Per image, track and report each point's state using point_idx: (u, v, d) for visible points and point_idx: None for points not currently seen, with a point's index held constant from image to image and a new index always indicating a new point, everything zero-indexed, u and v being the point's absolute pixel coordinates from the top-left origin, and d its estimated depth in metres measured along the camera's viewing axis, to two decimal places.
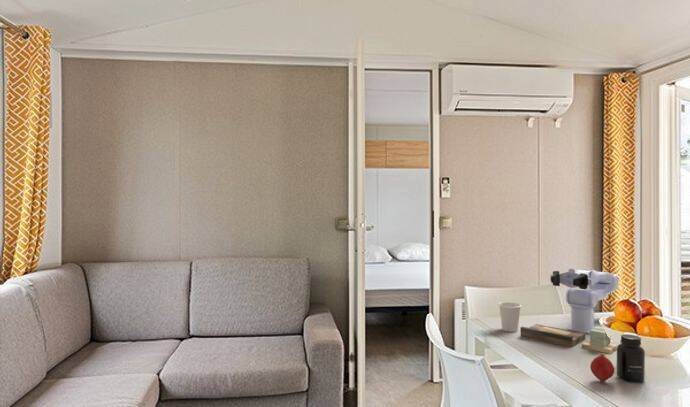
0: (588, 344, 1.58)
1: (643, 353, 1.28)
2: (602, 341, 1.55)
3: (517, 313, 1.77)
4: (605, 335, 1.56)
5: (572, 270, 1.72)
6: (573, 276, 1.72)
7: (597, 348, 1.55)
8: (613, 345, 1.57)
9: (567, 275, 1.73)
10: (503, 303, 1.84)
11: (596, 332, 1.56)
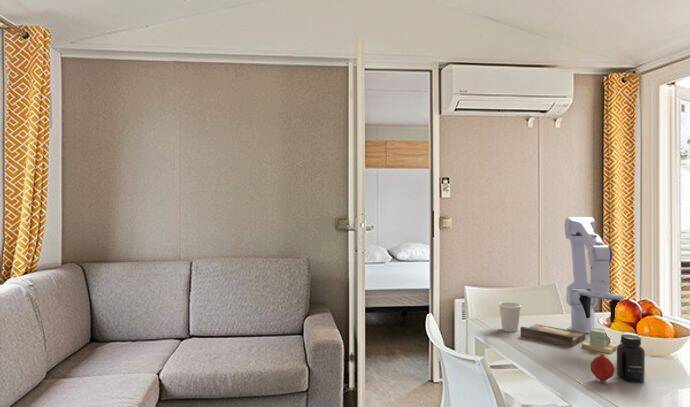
0: (588, 344, 1.58)
1: (643, 353, 1.28)
2: (602, 341, 1.55)
3: (517, 313, 1.77)
4: (605, 335, 1.56)
5: (597, 296, 1.56)
6: None
7: (597, 348, 1.55)
8: (613, 345, 1.57)
9: None
10: (503, 303, 1.84)
11: (596, 332, 1.56)
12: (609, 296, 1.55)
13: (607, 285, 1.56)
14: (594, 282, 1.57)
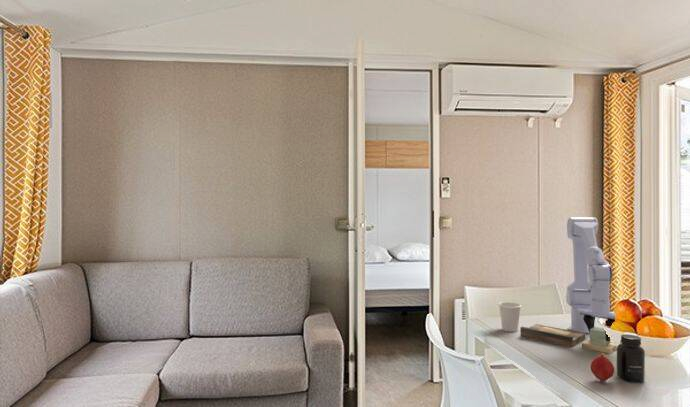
0: (588, 343, 1.58)
1: (643, 353, 1.28)
2: (602, 340, 1.55)
3: (517, 313, 1.77)
4: (605, 334, 1.56)
5: (597, 316, 1.56)
6: None
7: (597, 347, 1.55)
8: (613, 344, 1.57)
9: None
10: (503, 303, 1.84)
11: (596, 331, 1.56)
12: (609, 316, 1.55)
13: (607, 305, 1.56)
14: (594, 301, 1.57)
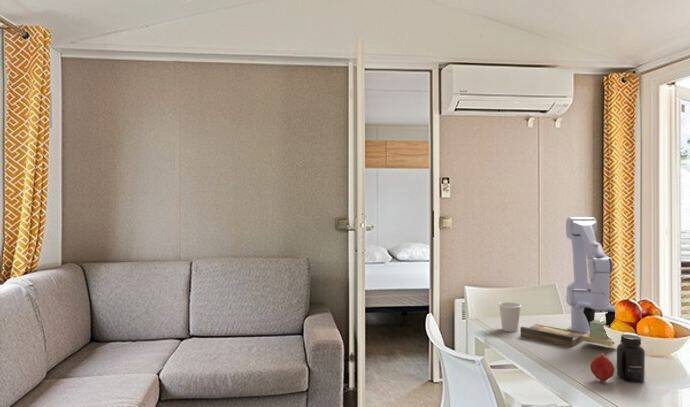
0: (588, 336, 1.58)
1: (643, 353, 1.28)
2: (602, 333, 1.55)
3: (517, 313, 1.77)
4: None
5: (597, 308, 1.56)
6: None
7: (597, 340, 1.55)
8: None
9: None
10: (503, 303, 1.84)
11: (596, 324, 1.56)
12: (609, 308, 1.55)
13: (607, 297, 1.56)
14: (594, 294, 1.57)
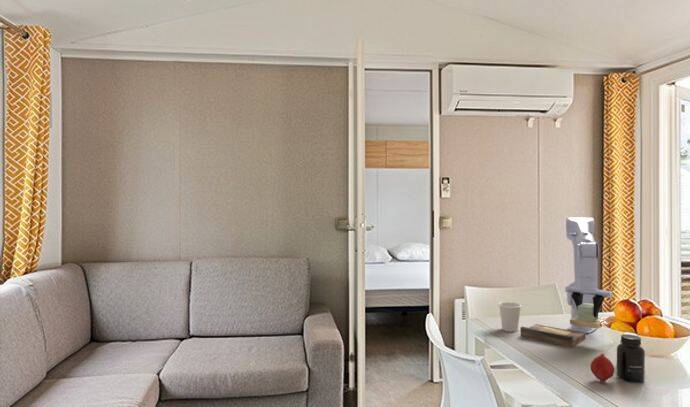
0: (576, 319, 1.61)
1: (643, 353, 1.28)
2: (590, 316, 1.57)
3: (517, 313, 1.77)
4: (593, 310, 1.58)
5: (585, 292, 1.58)
6: None
7: (585, 323, 1.58)
8: None
9: None
10: (503, 303, 1.84)
11: (584, 307, 1.59)
12: (596, 292, 1.57)
13: (595, 281, 1.59)
14: (582, 278, 1.60)
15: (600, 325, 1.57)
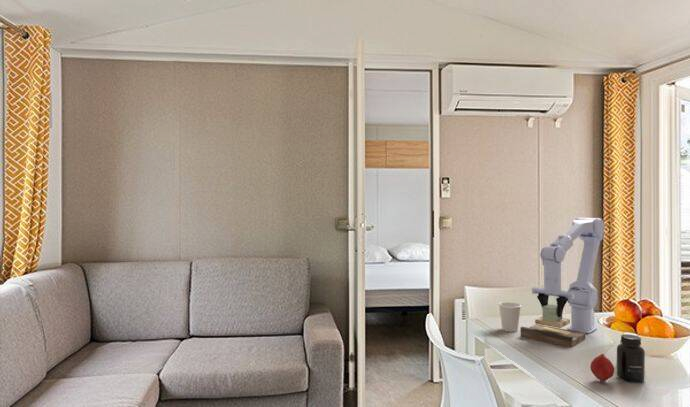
0: (541, 319, 1.69)
1: (643, 353, 1.28)
2: (553, 316, 1.66)
3: (517, 313, 1.77)
4: (556, 311, 1.67)
5: (549, 293, 1.67)
6: None
7: (549, 322, 1.66)
8: (564, 320, 1.68)
9: None
10: (503, 303, 1.84)
11: (548, 308, 1.67)
12: (560, 293, 1.66)
13: (558, 283, 1.67)
14: (547, 280, 1.69)
15: (563, 325, 1.65)
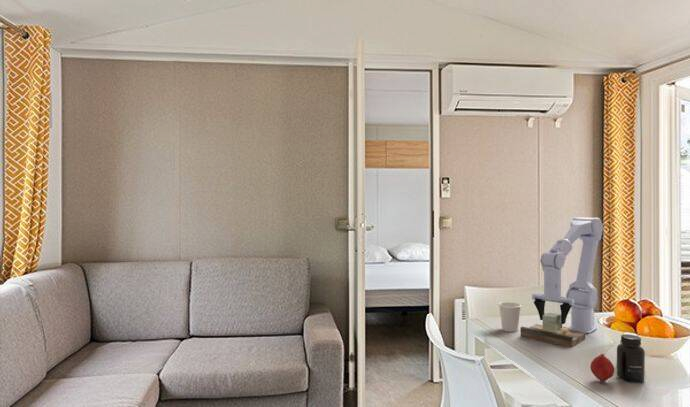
0: (541, 328, 1.69)
1: (643, 353, 1.28)
2: (553, 325, 1.66)
3: (517, 313, 1.77)
4: (556, 319, 1.67)
5: (549, 299, 1.67)
6: None
7: (549, 331, 1.66)
8: (564, 329, 1.68)
9: None
10: (503, 303, 1.84)
11: (548, 317, 1.67)
12: (560, 299, 1.66)
13: (558, 289, 1.67)
14: (547, 286, 1.69)
15: (563, 333, 1.65)
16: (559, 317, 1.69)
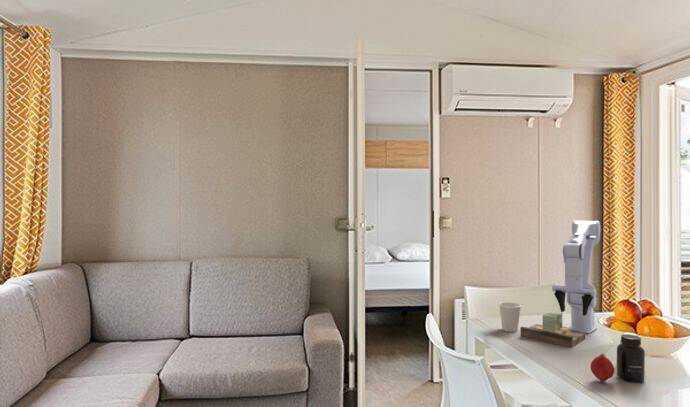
0: (541, 328, 1.69)
1: (643, 353, 1.28)
2: (553, 325, 1.66)
3: (517, 313, 1.77)
4: (556, 319, 1.67)
5: None
6: None
7: (549, 331, 1.66)
8: (564, 329, 1.68)
9: None
10: (503, 303, 1.84)
11: (548, 317, 1.67)
12: (581, 291, 1.64)
13: (580, 280, 1.66)
14: (568, 278, 1.67)
15: (563, 333, 1.65)
16: (559, 317, 1.69)
